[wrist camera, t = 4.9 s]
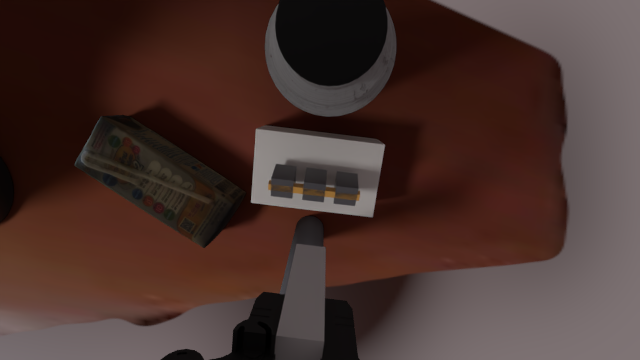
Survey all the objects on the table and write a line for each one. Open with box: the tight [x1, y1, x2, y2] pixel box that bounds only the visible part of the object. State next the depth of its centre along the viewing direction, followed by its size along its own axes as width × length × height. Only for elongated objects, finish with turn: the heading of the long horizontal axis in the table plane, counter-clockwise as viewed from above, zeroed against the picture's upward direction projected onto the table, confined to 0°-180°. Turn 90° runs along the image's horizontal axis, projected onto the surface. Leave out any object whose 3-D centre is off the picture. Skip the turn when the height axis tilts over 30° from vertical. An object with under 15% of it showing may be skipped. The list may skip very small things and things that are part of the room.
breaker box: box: [251, 125, 385, 217], centre depth 40 cm, size 15×9×6 cm, turn 83°
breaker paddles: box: [268, 164, 360, 206], centre depth 36 cm, size 10×2×3 cm, turn 83°
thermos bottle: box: [265, 0, 396, 117], centre depth 27 cm, size 8×8×28 cm
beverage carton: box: [75, 115, 246, 248], centre depth 41 cm, size 8×19×7 cm, turn 55°
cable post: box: [280, 216, 324, 294], centre depth 35 cm, size 4×4×22 cm
